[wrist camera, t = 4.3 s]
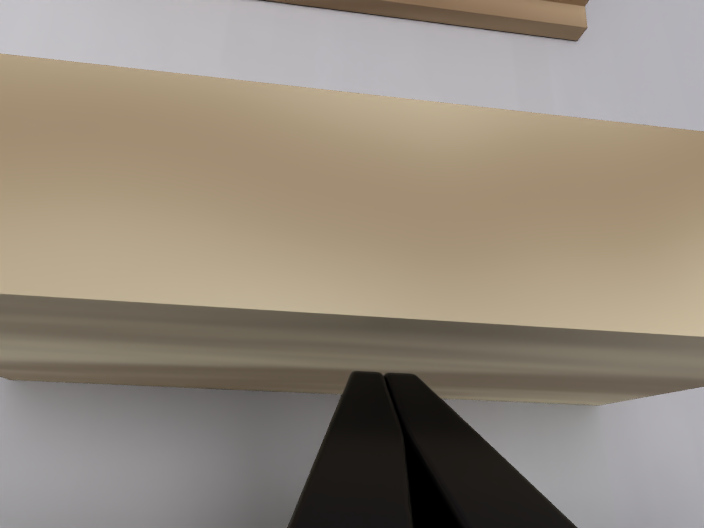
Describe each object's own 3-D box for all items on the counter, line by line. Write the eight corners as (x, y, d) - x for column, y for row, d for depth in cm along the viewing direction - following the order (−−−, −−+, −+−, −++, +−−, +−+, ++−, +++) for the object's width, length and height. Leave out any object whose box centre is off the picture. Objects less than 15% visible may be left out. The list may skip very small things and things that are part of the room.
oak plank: (595, 405, 16) (911, 349, 8) (12, 380, 14) (-277, 276, 6) (585, 292, 17) (859, 148, 9) (37, 254, 15) (-189, 33, 7)
